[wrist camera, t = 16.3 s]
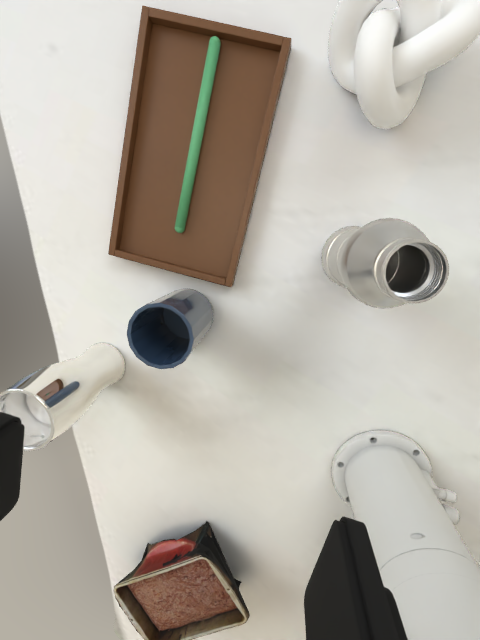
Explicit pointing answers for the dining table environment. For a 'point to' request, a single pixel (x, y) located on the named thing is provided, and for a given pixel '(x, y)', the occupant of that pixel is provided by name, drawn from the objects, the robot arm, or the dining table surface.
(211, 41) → the straw
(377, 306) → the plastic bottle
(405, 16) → the white decorative knot
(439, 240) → the dining table surface
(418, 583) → the robot arm
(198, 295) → the tumbler
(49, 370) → the beer glass
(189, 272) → the tray
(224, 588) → the baking dish
